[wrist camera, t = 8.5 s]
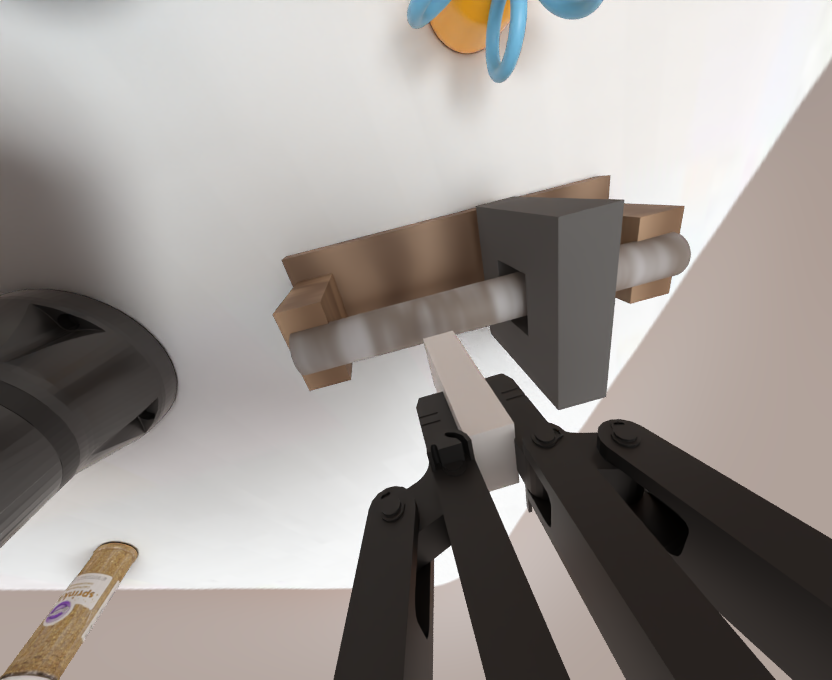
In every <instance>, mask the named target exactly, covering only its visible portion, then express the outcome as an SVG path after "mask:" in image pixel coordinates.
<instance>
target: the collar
mask: <svg viewBox="0 0 832 680" xmlns="http://www.w3.org/2000/svg"><path fill="white" fill-rule="evenodd" d="M623 209H624V200H615V199H580V198H545V197H510V198H506V199H502V200H499V201H495V202H491V203H487V204H483V205H479V206H476V212H477V221H478V229H479V238H480V246H481V254H482V263H483V271H484V280H489V279H493V278H497V277H500V276H504V275H508V274H512V273H515V272H519V271H520V272H522V273H524V274H525V278H526V297H527V316H523V317H519V318H516V319H512V320H508V321H505V322H501V323H497V324H494V325H490V330H491V334H492V335H493V336H494V338H495V339H496V340H497V341H498V342H499V343H500V344H501V345H502V347H503V348H504V349H505V350H506V351H507V352H508V353H509V355H510V356H511V357H512V358H513V359H514V360H515V361H516V363H517V364H518V365H519V366H520V367H521V368H522V369H523V371H524V372H525V373H526V374H527V375H528V376H529V377H530V378H531V380H532V381H533V382H534V383H535V384H536V385H537V386H538V388H539V389H540V390H541V391H542V392H543V393H544V394H545V396H546V397H547V398H548V399H549V400H550V401H551V402H552V403H553V405H554V406H555V407H556V408H557V409H558V410H561V409H564V408H568V407H572V406H575V405H579V404H582V403H586V402H589V401H593V400H597V399H600V398H604V397H606V391H607V380H608V369H609V359H610V348H611V337H612V327H613V316H614V305H615V295H616V284H617V273H618V262H619V252H620V241H621V230H622V220H623Z"/></svg>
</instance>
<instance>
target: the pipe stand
mask: <svg viewBox="0 0 832 680" xmlns="http://www.w3.org/2000/svg"><path fill="white" fill-rule="evenodd" d="M609 186H610V175H608V176H597V177H593V178H589V179H585V180H581V181H577V182H574V183H570V184H566V185H562V186H558V187H554V188H550V189H546V190H543V191H539V192H535V193H531V194H527V195H523V196H519V197H545V198H580V199H609ZM683 212H684V206H672V205H648V204H625V203H624V209H623V220H622V230H621V241H620V252H619V262H618V273H617V284H616V295H615V298H618V299H620V300H623V301H625V302H627V303H630V304H631V303H635V302H638V301H642V300H646V299H650V298H653V297H657V296H661V295H664V294H668V293H669V289H670V284H671V278H672V276H675V275H678V274H680V273H681V272H683V271H684V270H685V269H686V267H687V266H688V264H689V261H690V256H691V251H690V246H689V244H688V242H687V240H686V239H685V238H684V237H683V236H682V235H680V228H681V223H682V217H683ZM282 262H283V265H284V267H285V269H286V272H287V274H288V276H289V279H290V281H291V283H292V286H293V289H292V290H291V291H290V293H289V294H288V295H287V296H286V298H285V299H284V300H283V302H282V303H281V304H280V305H279V307H278V308H277V309H276V311H275V312H274V313H273V316H274V319H275V321H276V323H277V325H278V327H279V329H280V331H281V333H282V335H283V337H284V339H285V341H286V343H287V345H288V347H289V349H290V352H291V356H292V359H293V362H294V364H295V366H296V368H297V369H298V371H299V372H300V373H301V374H302V376H303V378H304V380H305V382H306V384H307V386H308V389H309V391H311V390H315V389H319V388H322V387H326V386H330V385H333V384H337V383H341V382H344V381H348V380H351V373H352V363H353V362H357V361H360V360H364V359H368V358H371V357H375V356H379V355H383V354H386V353H390V352H394V351H397V350H401V349H405V348H408V347H412V346H416V345H420V344H423V343H424V340H423V339H424V338H428V337H431V336H435V335H439V334H442V333H446V332H449V331H453V332H454V333H455V335H457V334H460V333H464V332H468V331H471V330H475V329H479V328H482V327H486V326H490V325H494V324H497V323H501V322H505V321H508V320H512V319H516V318H519V317H523V316H527V297H526V278H525V274H524V273H522V272H520V271H519V272H515V273H512V274H508V275H504V276H500V277H497V278H493V279H489V280H484V271H483V263H482V254H481V246H480V238H479V229H478V221H477V212H476V208H473V209H469V210H465V211H461V212H457V213H453V214H449V215H445V216H442V217H438V218H434V219H430V220H426V221H422V222H418V223H414V224H411V225H407V226H403V227H399V228H395V229H391V230H387V231H383V232H379V233H376V234H372V235H368V236H364V237H360V238H356V239H352V240H348V241H345V242H341V243H337V244H333V245H329V246H325V247H321V248H317V249H313V250H310V251H306V252H302V253H298V254H294V255H290V256H286V257H285V258H284V259H282Z"/></svg>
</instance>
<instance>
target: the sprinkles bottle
mask: <svg viewBox="0 0 832 680" xmlns="http://www.w3.org/2000/svg"><path fill="white" fill-rule="evenodd" d="M136 558H137V552H136V550H135V549H134V548H133V547H131V546H129V545H126V544H122V543H108V544H104V545H101V546H100V547H98V548H97V549H96V550H95V551H94V553H93V556H92V557H91V558H90V560H89V561H88V562H87V564H86V565H85V566H84V568H83V569H82V570H81V572H80V573H79V574H78V576H77V577H76V578H75V579H74V580H73V581H72V582H71V584H70V585H69V586H68V588H67V589H66V590H65V592H64V593H63V594H62V596H61V597H60V598H59V600H58V601H57V602H56V604H55V605H54V606H53V608H52V609H51V610H50V612H49V614H48V615H47V617H46V618H45V619H44V621H43V622H42V623H41V625H40V626H39V627H38V629H37V630H36V631H35V632H34V634H33V635H32V637H31V638H30V639H29V640H28V642H27V644H26V645H25V646H24V647H23V649H22V650H21V651H20V653H19V654H18V655H17V657H16V658H15V659H14V661H13V662H12V664H11V665H10V666H9V667H8V669H7V670H6V672H5V673H4V674H3V675H2V676H1V677H0V680H59V679H60V676H61V675H62V674H63V672H64V670H65V669H66V667H67V666H68V664H69V663H70V661H71V660H72V658H73V657H74V655H75V654H76V652H77V650H78V649H79V647H80V646H81V644H82V643H83V642H84V641H85V639H86V637H87V636H88V634H89V633H90V631H91V629H92V628H93V626H94V625H95V623H96V622H97V620H98V618H99V617H100V615H101V614H102V612H103V610H104V609H105V607H106V606H107V604H108V602H109V601H110V599H111V598H112V596H113V594H114V593H115V591H116V590H117V588H118V586H119V584H120V582H121V580H122V579H123V577H124V576H125V574H126V573H127V571H128V569H129V568H130V566H131V565H132V563H134V561H135V560H136Z"/></svg>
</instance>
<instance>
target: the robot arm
mask: <svg viewBox="0 0 832 680" xmlns="http://www.w3.org/2000/svg"><path fill="white" fill-rule="evenodd" d="M423 340H424V345H425V349H426V353H427V357H428V361H429V365H430V370H431V374H432V378H433V382H434V385H435V388H436V390H437V393H435V394H432V395H428V396H425V397H421V398H419V400H418V403H417V407H416V409H417V413H418V417H419V421H420V425H421V428H422V432H423V436H424V440H425V444H426V448H427V456H428V459H429V466H428V469H427V471H426V473H425V475H424V476H423V477H422V478H421V479H420V480H419V481H418V482H417V483H415V484H414V485H412V486H411V487H409V488H408V489H406V488H404V487H398V486H394V487H390V488H386V489H385V490H383V491H382V492H380V493H379V494H378V495H377V496H376V497H375V498H374V500H373V501H372V503H371V505H370V508H369V511H368V516H367V521H366V526H365V530H364V535H363V540H362V545H361V550H360V555H359V559H358V564H357V569H356V574H355V579H354V584H353V588H352V593H351V598H350V603H349V608H348V613H347V617H346V623H345V627H344V632H343V637H342V642H341V646H340V651H339V656H338V661H337V666H336V670H335V675H334V680H433V608H434V558H436V557H437V556H438V555H439V554H441V553H442V552H443V551H444V550H446V549H447V548H448V547H450V546H452V550H453V554H454V557H455V561H456V565H457V569H458V573H459V577H460V580H461V584H462V588H463V592H464V596H465V600H466V604H467V607H468V611H469V615H470V619H471V623H472V626H473V630H474V634H475V638H476V642H477V646H478V649H479V653H480V658H481V661H482V665H483V669H484V673H485V677H486V680H570V678H569V676H568V673H567V671H566V669H565V667H564V664H563V662H562V660H561V657H560V655H559V653H558V650H557V648H556V646H555V643H554V641H553V639H552V637H551V634H550V632H549V629H548V627H547V625H546V622H545V620H544V618H543V616H542V613H541V611H540V609H539V606H538V604H537V602H536V599H535V597H534V595H533V592H532V590H531V588H530V585H529V583H528V581H527V578H526V576H525V574H524V571H523V569H522V567H521V565H520V562H519V560H518V558H517V555H516V553H515V551H514V548H513V546H512V544H511V541H510V539H509V537H508V534H507V532H506V530H505V527H504V525H503V523H502V521H501V518H500V516H499V514H498V511H497V509H496V507H495V504H494V502H493V500H492V497H491V495H490V493H489V492H490V491H493V490H496V489H500V488H503V487H506V486H509V485H513V484H516V483H519V474H520V476H521V478H522V480H523V481H524V483H525V488H526V501H527V508H528V511H529V512H532V507H533V508H534V510H535V512H536V514H537V516H538V518H539V519H540V522H541V523H542V525H543V527H544V529H545V531H546V533H547V534H548V536H549V538H550V540H551V542H552V544H553V545H554V547H555V549H556V551H557V553H558V555H559V557H560V558H561V560H562V562H563V564H564V566H565V568H566V569H567V571H568V573H569V575H570V577H571V579H572V581H573V582H574V584H575V586H576V588H577V590H578V592H579V593H580V595H581V597H582V599H583V601H584V603H585V604H586V606H587V608H588V610H589V612H590V614H591V616H592V617H593V619H594V621H595V623H596V625H597V627H598V629H599V630H600V632H601V634H602V636H603V638H604V640H605V641H606V643H607V645H608V647H609V649H610V651H611V653H612V654H613V656H614V658H615V660H616V662H617V664H618V665H619V667H620V669H621V670H622V673H623V675H624V677H625V678H626V680H776V679H775V678H774V677H773V676H772V675H771V674H770V672H769V671H768V670H767V669H766V668H765V666H764V665H763V664H762V663H761V662H760V661H759V659H758V658H757V657H756V656H755V655H754V653H753V652H752V651H751V650H750V649H749V648H748V647H747V645H746V644H745V643H744V642H743V640H742V639H741V638H740V637H739V636H738V635H737V634H736V632H735V631H734V630H733V629H732V628H731V627H730V625H729V624H728V623H727V622H726V620H725V619H724V618H723V617H725V618H726V619H727V620H728V621H729V622H730V623H731V624H733V626H734V627H736V628H737V629H738V630H739V631H740V632H741V633H742V634H743V635H744V636H745V637H747V638H748V639H749V640H750V641H751V642H752V643H753V644H754V645H755V646H756V647H757V648H759V649H760V650H761V651H762V652H763V653H764V654H765V655H766V656H767V657H768V658H770V659H771V660H772V661H773V662H774V663H775V664H776V665H777V666H778V667H780V668H781V669H782V670H783V671H784V672H785V673H786V674H787V675H788V676H789V677H790V678H791V679H793V680H832V539H831V538H829V537H828V536H826V535H824V534H823V533H821V532H819V531H817V530H816V529H814V528H812V527H811V526H809V525H807V524H805V523H804V522H802V521H801V520H799V519H797V518H796V517H794V516H792V515H790V514H789V513H787V512H785V511H784V510H782V509H780V508H779V507H777V506H775V505H774V504H772V503H770V502H769V501H767V500H765V499H763V498H762V497H760V496H758V495H757V494H755V493H753V492H751V491H750V490H748V489H747V488H745V487H743V486H742V485H740V484H738V483H737V482H735V481H733V480H732V479H730V478H728V477H726V476H725V475H723V474H721V473H720V472H718V471H716V470H715V469H713V468H711V467H710V466H708V465H706V464H705V463H703V462H701V461H700V460H698V459H696V458H694V457H693V456H691V455H689V454H688V453H686V452H684V451H683V450H681V449H679V448H678V447H676V446H674V445H672V444H671V443H669V442H667V441H666V440H664V439H662V438H660V437H659V436H657V435H656V434H654V433H652V432H651V431H649V430H647V429H645V428H644V427H642V426H640V425H638V424H636V423H633V422H631V421H626V420H621V419H617V420H609V421H606V422H603V423H602V424H601V425H600V426H599V428H598V433H570V432H566V431H564V430H563V429H562V428H560V427H559V426H557V425H554V424H552V423H548V422H547V421H546V420H545V418H544V417H543V416H542V415H541V413H540V412H539V411H538V410H537V408H536V407H535V406H534V405H533V404H532V402H531V401H530V400H529V399H528V397H527V396H525V394H524V392H523V391H522V390H521V389H520V388H519V386H518V385H517V384H516V383H515V381H514V380H513V379H512V378H510V377H508V376H506V375H504V374H498V375H495V376H491V377H488V378H484V377H483V375H482V374H481V372H480V371H479V369H478V368H477V366H476V365H475V363H474V362H473V360H472V359H471V357H470V356H469V354H468V353H467V351H466V350H465V348H464V347H463V345H462V344H461V342H460V341H459V339H458V338H457V336H456V335H455V333H454V332H453V331H449V332H446V333H442V334H439V335H435V336H431V337H428V338H424V339H423ZM176 390H177V382H176V375H175V371H174V368H173V365H172V363H171V361H170V359H169V357H168V355H167V354H166V352H165V350H164V349H163V348H162V346H161V345H160V344H159V343H158V341H157V340H156V339H155V338H154V337H153V336H152V335H151V334H150V333H149V332H148V331H147V330H146V329H144V328H143V327H142V326H141V325H140V324H138V323H137V322H136V321H134V320H133V319H131V318H130V317H128V316H127V315H125V314H123V313H122V312H120V311H118V310H116V309H114V308H112V307H110V306H108V305H106V304H104V303H102V302H99V301H96V300H94V299H91V298H88V297H85V296H81V295H78V294H74V293H69V292H64V291H58V290H48V289H29V290H19V291H14V292H9V293H6V294H2V295H0V548H1V547H2V546H3V545H4V544H5V543H6V542H7V541H8V540H9V539H10V538H11V537H12V536H13V535H14V534H15V533H16V532H17V531H18V530H19V529H20V528H21V527H22V526H23V525H24V524H25V523H26V522H27V521H28V520H29V519H30V518H31V517H32V516H33V515H34V514H35V513H36V512H37V511H38V510H39V509H40V508H41V507H42V506H43V505H44V504H45V503H46V502H47V501H48V500H49V499H51V498H52V497H53V496H54V495H55V494H56V493H57V492H58V491H59V490H60V489H61V488H62V487H63V486H64V485H65V484H66V483H67V482H68V481H69V480H70V479H71V478H72V477H73V476H74V475H75V474H77V473H78V472H80V471H82V470H84V469H86V468H87V467H89V466H91V465H93V464H95V463H96V462H98V461H100V460H102V459H103V458H105V457H107V456H109V455H111V454H112V453H114V452H116V451H118V450H119V449H121V448H123V447H125V446H127V445H128V444H130V443H132V442H134V441H135V440H137V439H139V438H141V437H142V436H143V435H145V434H146V433H147V432H149V431H150V430H151V429H152V428H153V427H154V426H155V425H156V424H157V423H158V422H159V421H160V419H161V418H162V417H163V416H164V415H165V414H166V413H167V412H168V410H169V409H170V407H171V406H172V404H173V402H174V399H175V395H176ZM518 472H519V473H518ZM721 615H722V616H723V617H722V616H721Z"/></svg>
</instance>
